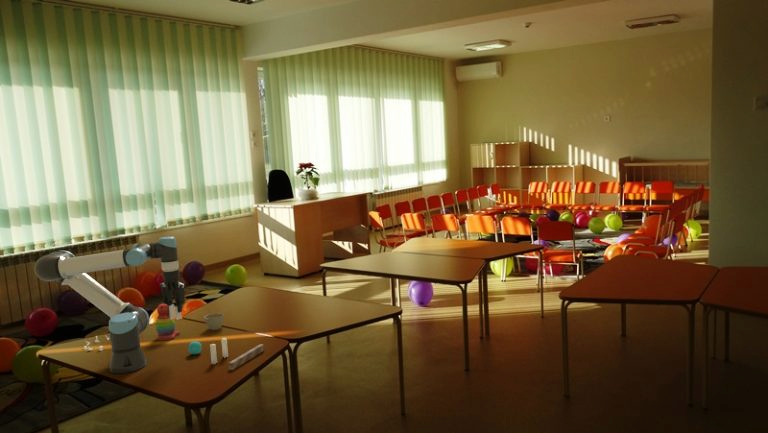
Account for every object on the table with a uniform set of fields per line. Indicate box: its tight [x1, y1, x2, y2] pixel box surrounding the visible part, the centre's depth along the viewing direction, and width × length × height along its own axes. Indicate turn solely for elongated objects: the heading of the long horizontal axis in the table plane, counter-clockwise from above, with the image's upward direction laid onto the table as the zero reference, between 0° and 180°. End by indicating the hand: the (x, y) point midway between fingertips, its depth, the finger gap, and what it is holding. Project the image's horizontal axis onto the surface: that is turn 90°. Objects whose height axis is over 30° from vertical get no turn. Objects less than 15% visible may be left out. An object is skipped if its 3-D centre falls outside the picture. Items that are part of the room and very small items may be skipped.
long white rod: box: [227, 343, 265, 371], centre depth 260 cm, size 24×2×3 cm, turn 158°
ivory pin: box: [220, 337, 229, 359], centre depth 265 cm, size 2×2×8 cm
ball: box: [187, 340, 203, 355], centre depth 272 cm, size 6×6×6 cm
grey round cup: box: [204, 312, 225, 331], centre depth 310 cm, size 10×10×7 cm
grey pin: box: [209, 343, 218, 365], centre depth 258 cm, size 2×2×8 cm
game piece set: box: [82, 334, 110, 352], centre depth 295 cm, size 19×20×4 cm
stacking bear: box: [155, 302, 181, 341], centre depth 300 cm, size 11×10×18 cm
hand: (175, 318), depth 274 cm, fingers open, 3 cm apart
